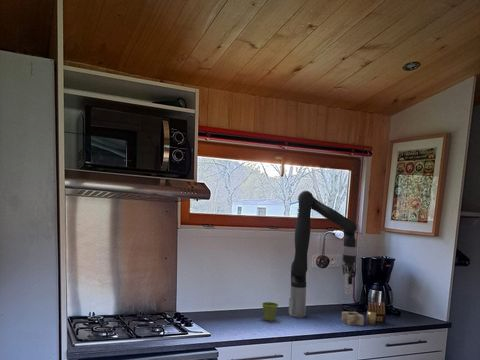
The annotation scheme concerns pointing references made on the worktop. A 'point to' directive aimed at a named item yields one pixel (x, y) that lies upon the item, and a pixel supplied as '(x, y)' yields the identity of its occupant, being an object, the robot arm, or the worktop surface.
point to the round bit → (371, 318)
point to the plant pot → (269, 310)
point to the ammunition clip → (378, 312)
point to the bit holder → (352, 318)
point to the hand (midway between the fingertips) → (348, 283)
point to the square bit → (348, 285)
